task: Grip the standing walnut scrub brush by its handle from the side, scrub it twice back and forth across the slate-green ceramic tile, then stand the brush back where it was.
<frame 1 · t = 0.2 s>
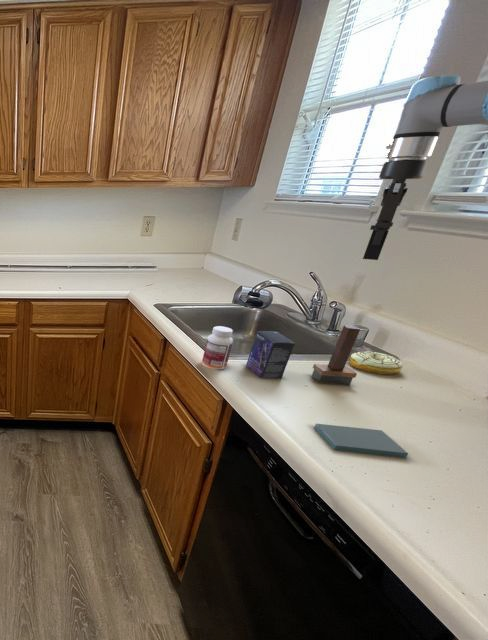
hand: (370, 256, 103), 30 cm above the countertop, tool pointing down, fingers open, 13 cm apart
brush: (329, 382, 108), on the countertop
box: (262, 373, 112), on the countertop
tile: (356, 443, 83), on the countertop
pill bottle: (213, 366, 116), on the countertop
decorated donut: (371, 369, 115), on the countertop
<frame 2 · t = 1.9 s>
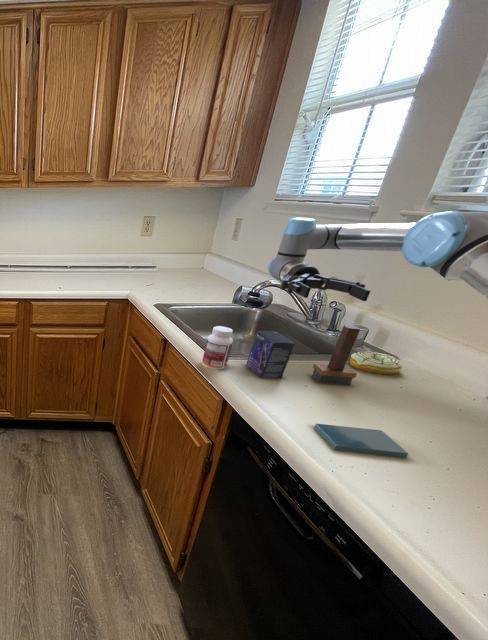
hand: (337, 294, 108), 20 cm above the countertop, tool horizontal, fingers open, 13 cm apart
nothing on the countertop moved.
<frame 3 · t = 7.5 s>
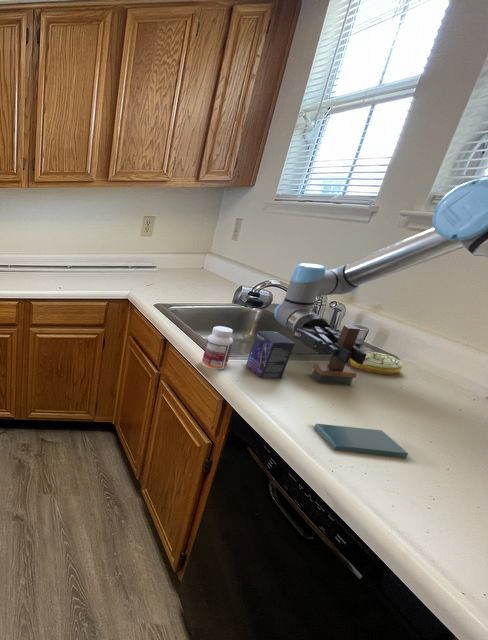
hand: (355, 358, 99), 9 cm above the countertop, tool horizontal, fingers closed on brush, 2 cm apart
brush: (329, 381, 108), on the countertop, touching gripper
everything else where it was.
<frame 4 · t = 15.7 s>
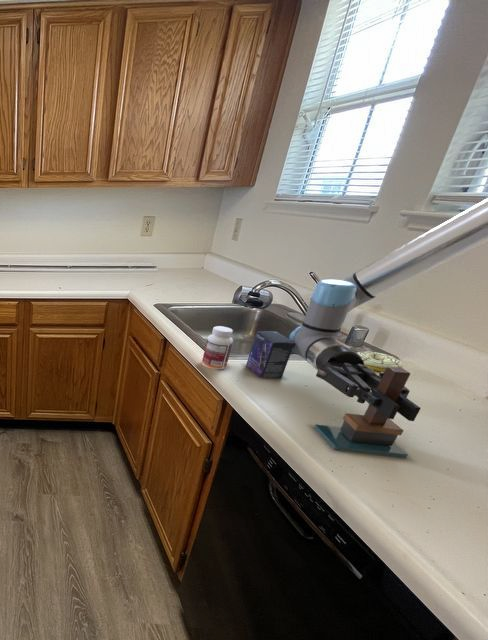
hand: (404, 413, 73), 10 cm above the countertop, tool horizontal, fingers closed on brush, 2 cm apart
brush: (365, 438, 82), point 1 cm above the countertop, touching gripper
everything else where it was.
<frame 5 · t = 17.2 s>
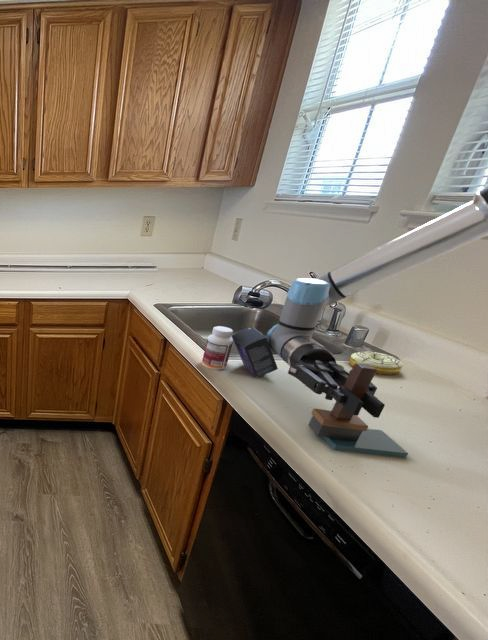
hand: (368, 409, 74), 10 cm above the countertop, tool horizontal, fingers closed on brush, 2 cm apart
brush: (331, 433, 83), point 2 cm above the countertop, touching gripper, tile
box: (261, 368, 112), point 1 cm above the countertop
tile: (356, 443, 83), on the countertop, touching brush
everything else where it was.
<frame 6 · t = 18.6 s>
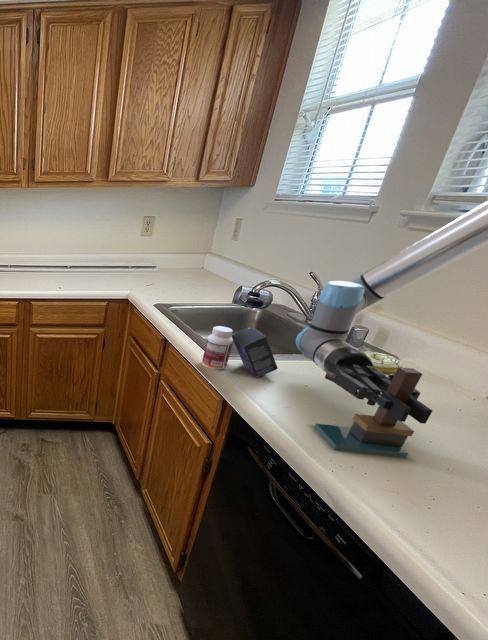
hand: (415, 415, 73), 10 cm above the countertop, tool horizontal, fingers closed on brush, 2 cm apart
brush: (374, 438, 82), point 2 cm above the countertop, touching gripper
box: (261, 368, 112), point 1 cm above the countertop, touching pill bottle
tile: (356, 443, 83), on the countertop
pill bottle: (213, 366, 116), on the countertop, touching box
everything else where it was.
when the fingers open (9 cm above the countertop, at t = 29.8 s): brush stays where it is, on the countertop.
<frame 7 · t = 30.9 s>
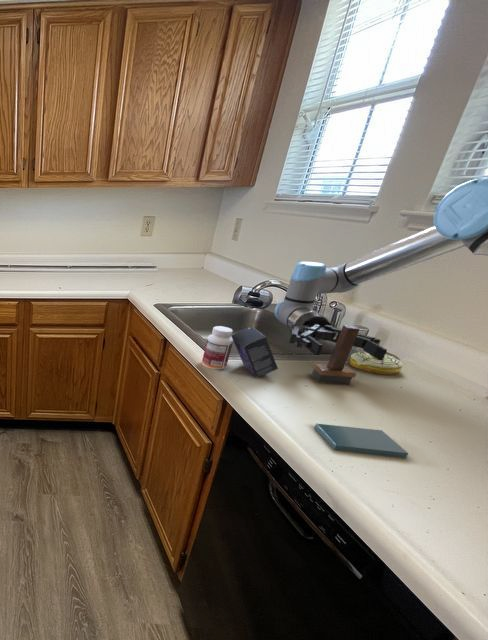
hand: (350, 352, 101), 10 cm above the countertop, tool horizontal, fingers open, 13 cm apart
brush: (329, 381, 108), on the countertop
everything else where it was.
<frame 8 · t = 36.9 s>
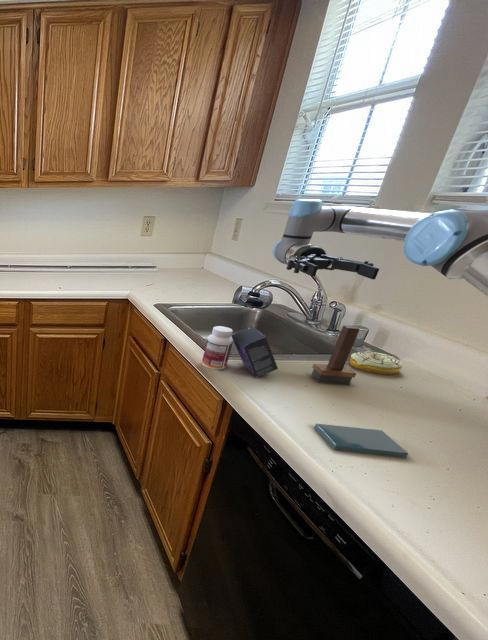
hand: (345, 272, 106), 26 cm above the countertop, tool horizontal, fingers open, 13 cm apart
nothing on the countertop moved.
at the end: brush inside the target area (0.2 cm from its centre), on the countertop; brush tilted 0°; tile moved 0.0 cm from its start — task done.
